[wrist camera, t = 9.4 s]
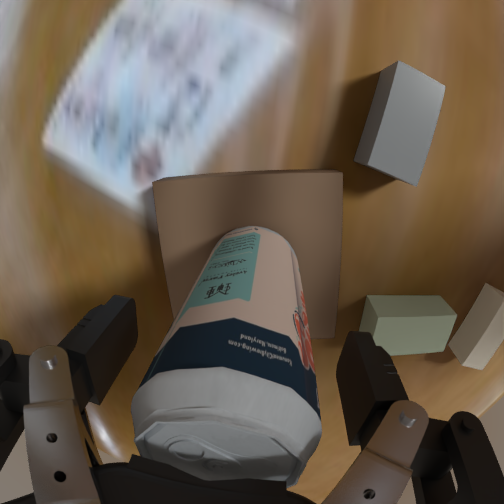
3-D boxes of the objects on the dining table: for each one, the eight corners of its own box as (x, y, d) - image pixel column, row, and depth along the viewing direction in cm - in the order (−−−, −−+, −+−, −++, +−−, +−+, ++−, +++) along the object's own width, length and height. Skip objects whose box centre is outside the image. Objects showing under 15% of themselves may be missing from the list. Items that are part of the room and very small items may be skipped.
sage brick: (438, 294, 19) (457, 315, 16) (428, 328, 20) (443, 351, 17) (366, 293, 19) (378, 317, 17) (357, 330, 20) (367, 356, 18)
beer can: (259, 318, 18) (238, 513, 7) (194, 270, 17) (94, 448, 6) (315, 260, 16) (368, 460, 5) (246, 205, 16) (177, 362, 4)
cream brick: (484, 281, 18) (504, 298, 16) (502, 291, 19) (522, 308, 16) (446, 343, 20) (461, 365, 18) (467, 349, 21) (481, 370, 18)
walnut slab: (335, 169, 17) (342, 172, 15) (329, 320, 20) (334, 338, 18) (164, 177, 17) (152, 182, 16) (185, 322, 21) (177, 338, 19)
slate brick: (380, 71, 14) (398, 60, 12) (421, 92, 14) (445, 86, 12) (352, 160, 16) (367, 164, 14) (395, 179, 17) (416, 186, 14)
